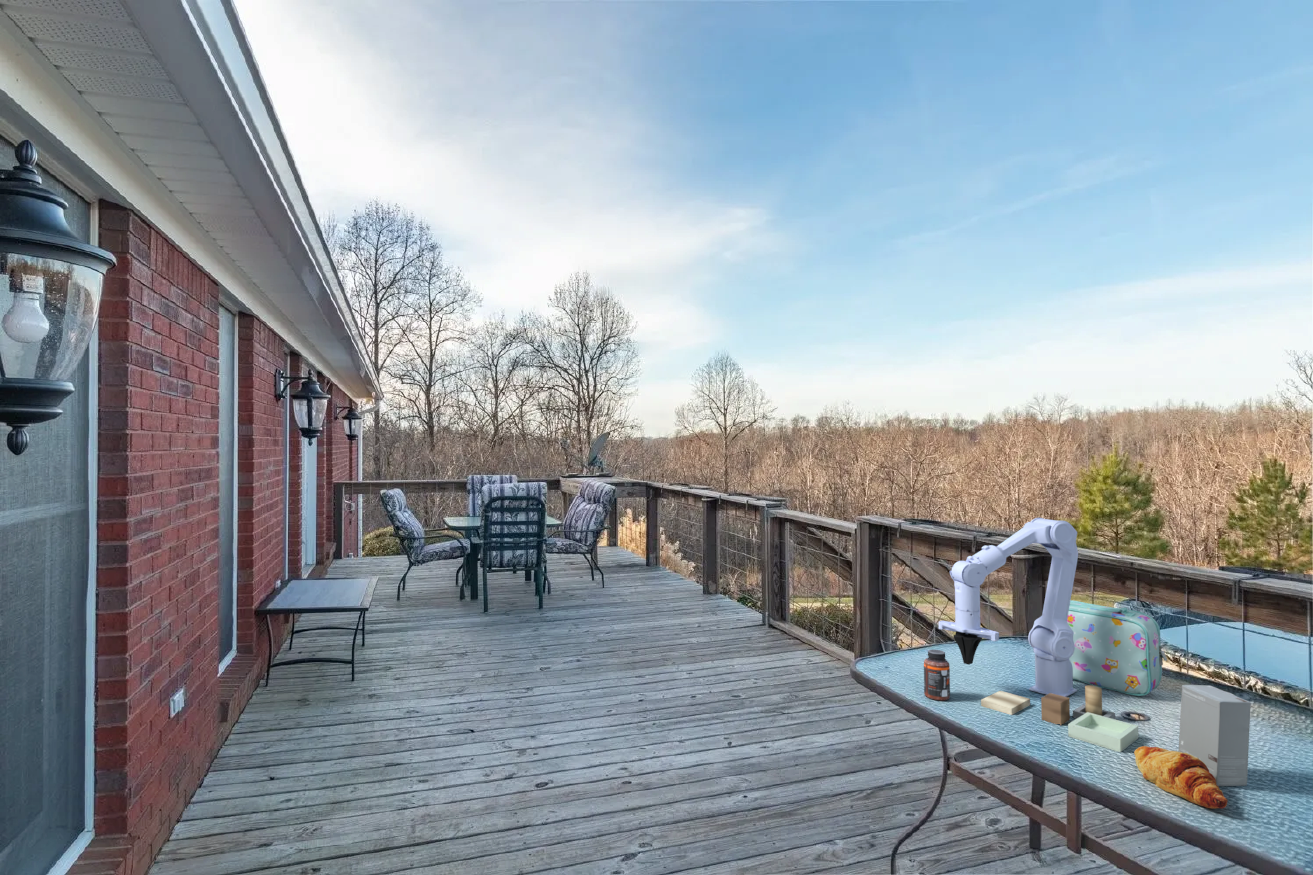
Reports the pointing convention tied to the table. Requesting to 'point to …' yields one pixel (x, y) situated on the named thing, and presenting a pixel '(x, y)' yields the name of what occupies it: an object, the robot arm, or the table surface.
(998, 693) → the cream flat block
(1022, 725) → the table surface
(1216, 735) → the skincare box
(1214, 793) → the croissant
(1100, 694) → the dowel
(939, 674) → the supplement bottle
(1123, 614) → the lunch box
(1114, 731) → the tray
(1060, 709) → the brown block
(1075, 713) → the dowel socket
